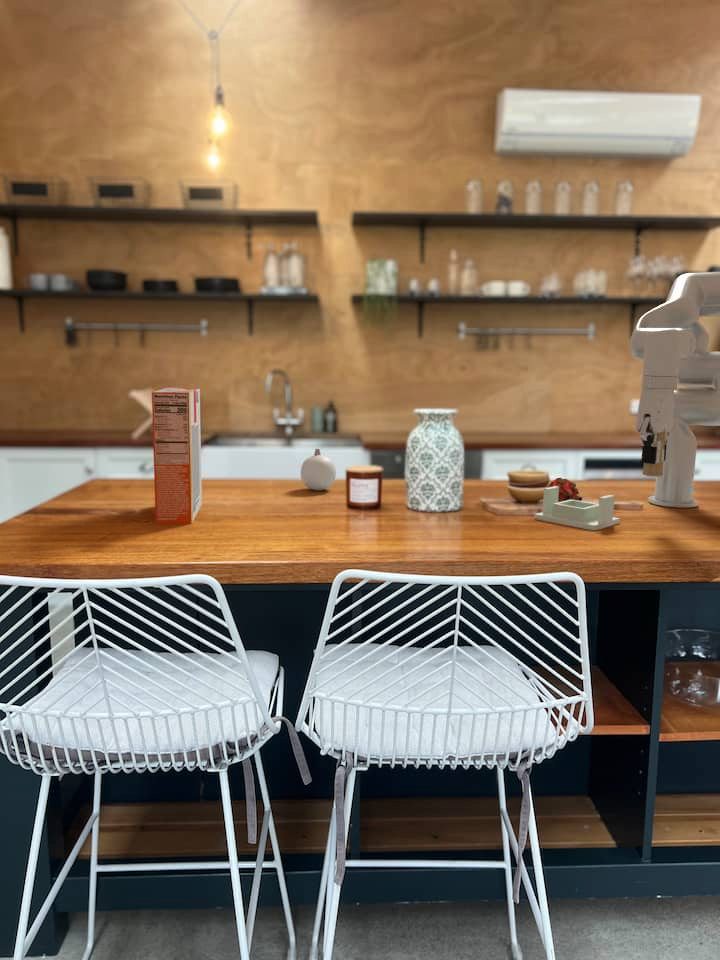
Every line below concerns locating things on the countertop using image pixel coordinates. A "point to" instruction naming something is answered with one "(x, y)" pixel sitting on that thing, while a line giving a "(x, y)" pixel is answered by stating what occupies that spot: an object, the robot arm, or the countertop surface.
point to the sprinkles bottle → (656, 468)
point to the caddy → (577, 511)
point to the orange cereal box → (177, 454)
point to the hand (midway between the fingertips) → (653, 461)
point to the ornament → (318, 472)
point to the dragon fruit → (565, 490)
